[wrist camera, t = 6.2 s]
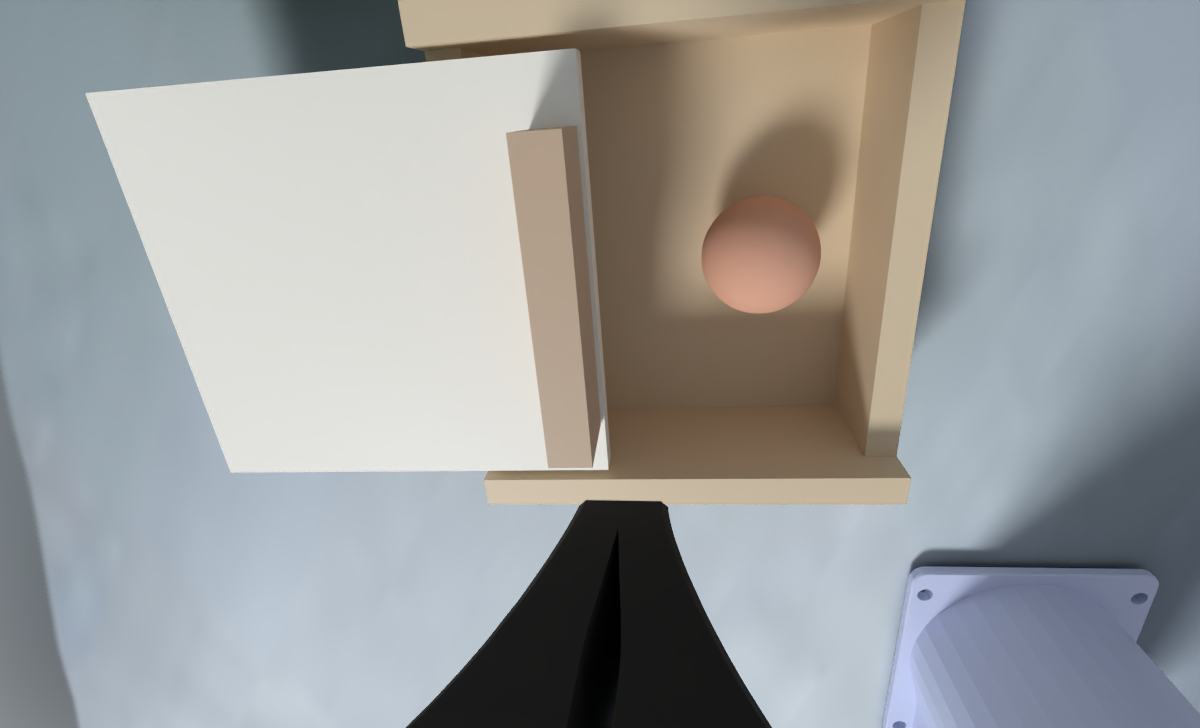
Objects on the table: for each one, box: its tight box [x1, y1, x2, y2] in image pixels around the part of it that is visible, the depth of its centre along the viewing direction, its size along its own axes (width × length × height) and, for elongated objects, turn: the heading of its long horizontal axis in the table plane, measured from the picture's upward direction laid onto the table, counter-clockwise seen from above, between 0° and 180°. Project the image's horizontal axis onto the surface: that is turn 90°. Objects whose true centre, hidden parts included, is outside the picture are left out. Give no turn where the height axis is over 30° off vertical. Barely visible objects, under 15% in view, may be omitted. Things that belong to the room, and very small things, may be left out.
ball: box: [701, 196, 821, 313], centre depth 15 cm, size 3×3×3 cm
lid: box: [86, 48, 611, 472], centre depth 13 cm, size 10×11×3 cm
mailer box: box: [398, 0, 966, 504], centre depth 15 cm, size 12×11×5 cm
